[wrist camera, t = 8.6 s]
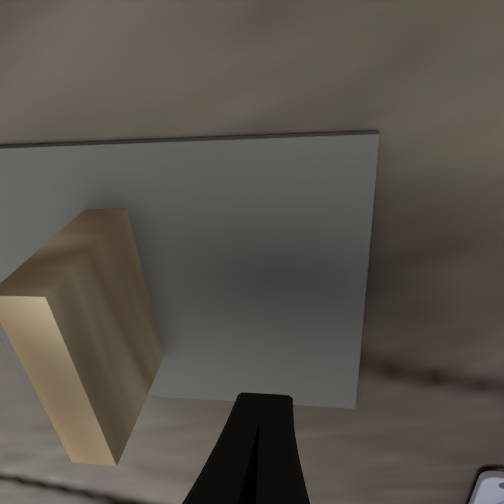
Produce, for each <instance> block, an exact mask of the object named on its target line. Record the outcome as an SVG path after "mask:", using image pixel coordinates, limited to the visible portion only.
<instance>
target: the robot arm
mask: <svg viewBox="0 0 504 504" xmlns="http://www.w3.org/2000/svg"><path fill="white" fill-rule="evenodd" d="M182 504H310V502H309V498H308V494H307V490H306V486H305V482H304V477H303V473H302V469H301V465H300V460H299V455H298V450H297V444H296V438H295V431H294V418H293V398H292V397H290V396H289V395H280V394H263V393H245V392H241V393H240V394H238V395H237V398H236V401H235V404H234V406H233V408H232V411H231V413H230V416H229V418H228V420H227V422H226V424H225V427H224V429H223V431H222V433H221V435H220V437H219V439H218V441H217V443H216V445H215V447H214V449H213V451H212V452H211V454H210V456H209V458H208V460H207V462H206V464H205V466H204V467H203V469H202V471H201V473H200V475H199V476H198V478H197V480H196V482H195V483H194V485H193V487H192V488H191V490H190V492H189V493H188V495H187V497H186V498H185V500H184V502H183V503H182ZM469 504H504V472H503V471H485V472H483V473H481V474H480V476H479V478H478V480H477V483H476V486H475V488H474V491H473V494H472V496H471V499H470V502H469Z"/></svg>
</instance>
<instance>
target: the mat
mask: <svg viewBox="0 0 504 504" xmlns="http://www.w3.org/2000/svg"><path fill="white" fill-rule="evenodd" d="M379 138H380V134H379V132H378V131H353V132H327V133H302V134H277V135H252V136H226V137H201V138H176V139H150V140H125V141H100V142H74V143H49V144H24V145H0V283H1V282H3V281H4V280H5V279H6V278H7V277H8V276H9V275H11V274H12V273H13V272H14V271H15V270H16V269H17V268H19V267H20V266H21V265H22V264H23V263H24V262H25V261H27V260H28V259H29V258H30V257H31V256H32V255H33V254H34V253H36V252H37V251H38V250H39V249H40V248H41V247H42V246H44V245H45V244H46V243H47V242H48V241H49V240H50V239H52V238H53V237H54V236H55V235H56V234H57V233H58V232H60V231H61V230H62V229H63V228H64V227H65V226H66V225H68V224H69V223H70V222H71V221H72V220H73V219H74V218H76V217H77V216H78V215H79V214H80V213H81V212H82V211H84V210H88V209H127V210H128V214H129V218H130V222H131V226H132V230H133V234H134V237H135V241H136V245H137V249H138V253H139V257H140V261H141V265H142V269H143V273H144V277H145V281H146V284H147V288H148V292H149V296H150V300H151V304H152V308H153V312H154V316H155V320H156V324H157V327H158V331H159V335H160V339H161V343H162V347H163V351H164V355H165V356H164V358H163V360H162V362H161V365H160V367H159V369H158V372H157V374H156V376H155V379H154V381H153V383H152V386H151V388H150V390H149V393H148V395H147V396H160V397H176V398H192V399H207V400H223V401H236V398H237V395H238V394H240V393H241V392H245V393H263V394H280V395H289V396H290V397H292V398H293V405H303V406H319V407H335V408H351V409H356V399H357V388H358V376H359V365H360V354H361V342H362V331H363V320H364V308H365V297H366V285H367V274H368V263H369V251H370V240H371V229H372V217H373V206H374V195H375V183H376V172H377V160H378V149H379ZM0 338H1V340H2V342H3V343H4V345H5V347H6V349H7V351H8V353H9V355H10V357H11V359H12V361H13V362H14V364H15V366H16V368H17V370H18V372H19V374H20V376H21V378H22V379H23V381H24V383H25V385H26V387H27V388H32V389H34V387H33V385H32V383H31V381H30V379H29V377H28V375H27V373H26V371H25V369H24V367H23V366H22V364H21V362H20V360H19V358H18V356H17V354H16V352H15V350H14V348H13V346H12V344H11V342H10V340H9V338H8V336H7V334H6V332H5V330H4V329H3V327H2V325H1V323H0Z"/></svg>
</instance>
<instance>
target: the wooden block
mask: <svg viewBox="0 0 504 504" xmlns="http://www.w3.org/2000/svg"><path fill="white" fill-rule="evenodd" d="M0 323H1V325H2V327H3V329H4V330H5V332H6V334H7V336H8V338H9V340H10V342H11V344H12V346H13V348H14V350H15V352H16V354H17V356H18V358H19V360H20V362H21V364H22V366H23V367H24V369H25V371H26V373H27V375H28V377H29V379H30V381H31V383H32V385H33V387H34V389H35V391H36V393H37V395H38V397H39V399H40V401H41V402H42V404H43V406H44V408H45V410H46V412H47V414H48V416H49V418H50V420H51V422H52V424H53V426H54V428H55V430H56V432H57V434H58V436H59V437H60V439H61V441H62V443H63V445H64V447H65V449H66V451H67V453H68V455H69V457H70V459H71V461H72V462H77V463H88V464H98V465H109V466H117V464H118V462H119V460H120V457H121V455H122V453H123V450H124V448H125V446H126V443H127V441H128V439H129V436H130V434H131V432H132V430H133V427H134V425H135V423H136V420H137V418H138V416H139V413H140V411H141V409H142V406H143V404H144V402H145V399H146V397H147V395H148V393H149V390H150V388H151V386H152V383H153V381H154V379H155V376H156V374H157V372H158V369H159V367H160V365H161V362H162V360H163V358H164V356H165V355H164V351H163V347H162V343H161V339H160V335H159V331H158V327H157V324H156V320H155V316H154V312H153V308H152V304H151V300H150V296H149V292H148V288H147V284H146V281H145V277H144V273H143V269H142V265H141V261H140V257H139V253H138V249H137V245H136V241H135V237H134V234H133V230H132V226H131V222H130V218H129V214H128V210H127V209H88V210H84V211H82V212H81V213H80V214H79V215H78V216H77V217H76V218H74V219H73V220H72V221H71V222H70V223H69V224H68V225H66V226H65V227H64V228H63V229H62V230H61V231H60V232H58V233H57V234H56V235H55V236H54V237H53V238H52V239H50V240H49V241H48V242H47V243H46V244H45V245H44V246H42V247H41V248H40V249H39V250H38V251H37V252H36V253H34V254H33V255H32V256H31V257H30V258H29V259H28V260H27V261H25V262H24V263H23V264H22V265H21V266H20V267H19V268H17V269H16V270H15V271H14V272H13V273H12V274H11V275H9V276H8V277H7V278H6V279H5V280H4V281H3V282H1V283H0Z"/></svg>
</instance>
